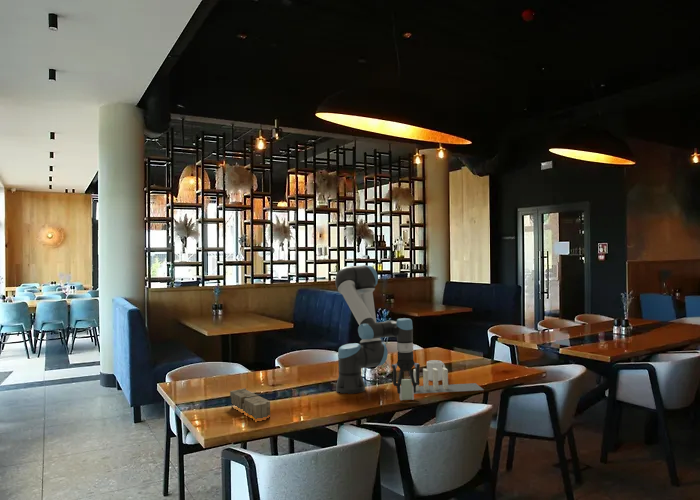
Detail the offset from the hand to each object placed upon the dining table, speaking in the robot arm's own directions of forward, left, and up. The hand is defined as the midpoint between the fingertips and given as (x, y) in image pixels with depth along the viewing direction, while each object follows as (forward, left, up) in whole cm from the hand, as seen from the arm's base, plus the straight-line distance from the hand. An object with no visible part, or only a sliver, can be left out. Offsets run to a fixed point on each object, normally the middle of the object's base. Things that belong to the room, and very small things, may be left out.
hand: (406, 399), depth 255 cm
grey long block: (-73, -7, -1) cm, 73 cm away
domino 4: (+18, +16, 0) cm, 24 cm away
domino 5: (+23, +16, 0) cm, 28 cm away
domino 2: (+8, +16, 0) cm, 18 cm away
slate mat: (+20, +16, 0) cm, 26 cm away
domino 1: (0, 0, 0) cm, 0 cm away
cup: (+24, +37, -1) cm, 44 cm away
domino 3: (+13, +16, 0) cm, 21 cm away
